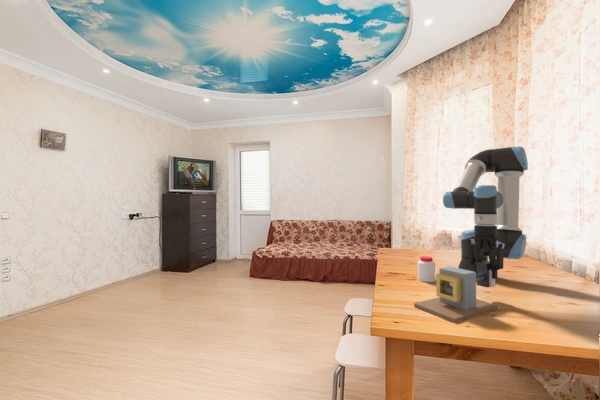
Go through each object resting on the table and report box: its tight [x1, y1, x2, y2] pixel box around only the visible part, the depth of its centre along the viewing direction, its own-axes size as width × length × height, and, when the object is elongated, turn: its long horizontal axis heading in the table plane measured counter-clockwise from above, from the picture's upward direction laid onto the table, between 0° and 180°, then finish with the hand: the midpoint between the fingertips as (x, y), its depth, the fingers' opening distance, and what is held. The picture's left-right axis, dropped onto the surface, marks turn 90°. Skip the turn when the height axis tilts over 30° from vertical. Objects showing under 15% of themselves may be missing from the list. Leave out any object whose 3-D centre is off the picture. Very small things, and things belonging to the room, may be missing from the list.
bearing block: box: [413, 266, 499, 324], centre depth 106 cm, size 24×16×14 cm, turn 117°
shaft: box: [447, 260, 491, 288], centre depth 110 cm, size 24×4×9 cm, turn 117°
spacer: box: [435, 272, 463, 302], centre depth 104 cm, size 3×8×8 cm, turn 27°
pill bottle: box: [417, 255, 436, 283], centre depth 142 cm, size 8×8×11 cm
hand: (485, 284), depth 114 cm, fingers closed on shaft, 4 cm apart
